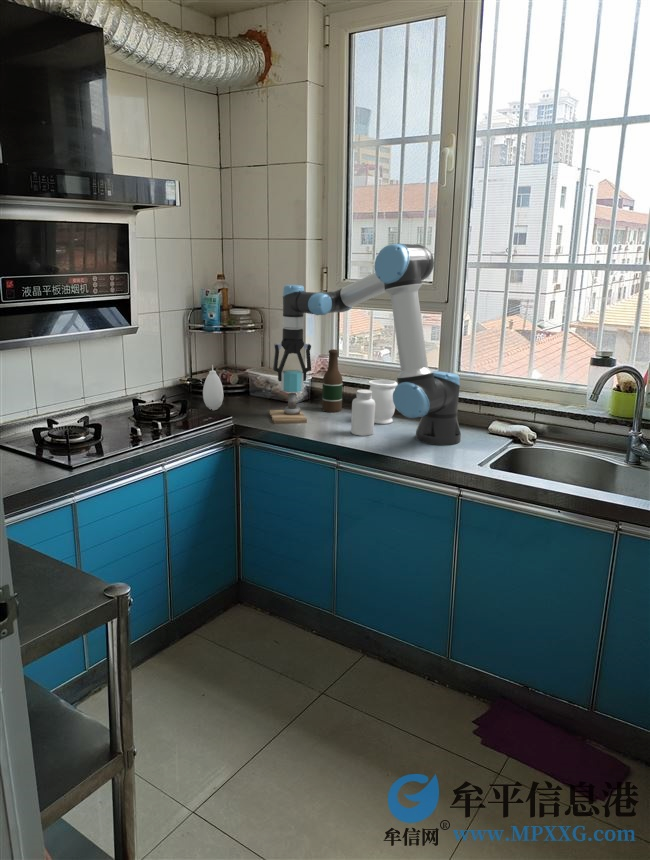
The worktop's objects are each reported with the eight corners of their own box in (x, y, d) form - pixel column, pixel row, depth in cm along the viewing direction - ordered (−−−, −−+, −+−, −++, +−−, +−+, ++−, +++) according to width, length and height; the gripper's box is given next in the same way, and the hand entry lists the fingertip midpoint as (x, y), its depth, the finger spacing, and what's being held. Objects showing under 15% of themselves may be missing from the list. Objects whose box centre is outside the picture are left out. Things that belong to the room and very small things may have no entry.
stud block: (306, 422, 244) (307, 399, 241) (274, 423, 241) (274, 400, 239) (300, 412, 259) (300, 390, 257) (269, 412, 257) (269, 390, 254)
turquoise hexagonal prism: (302, 391, 247) (302, 373, 245) (284, 392, 246) (284, 373, 244) (299, 388, 254) (299, 370, 252) (281, 388, 252) (282, 370, 250)
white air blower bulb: (203, 407, 262) (202, 362, 258) (223, 407, 264) (222, 362, 259) (203, 412, 255) (202, 366, 250) (224, 412, 256) (223, 365, 252)
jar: (361, 420, 248) (363, 381, 244) (380, 416, 255) (382, 378, 251) (382, 426, 241) (384, 385, 237) (401, 422, 247) (403, 382, 244)
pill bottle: (372, 437, 227) (374, 394, 223) (349, 435, 229) (350, 392, 225) (375, 431, 235) (377, 389, 231) (352, 429, 236) (354, 388, 232)
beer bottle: (322, 407, 267) (323, 348, 261) (341, 408, 267) (343, 348, 260) (321, 412, 260) (322, 351, 253) (341, 413, 259) (343, 351, 253)
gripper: (317, 326, 249) (315, 387, 255) (265, 326, 245) (264, 387, 252) (321, 329, 242) (319, 391, 248) (267, 329, 238) (266, 392, 244)
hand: (291, 389), depth 250 cm, fingers closed on turquoise hexagonal prism, 7 cm apart
